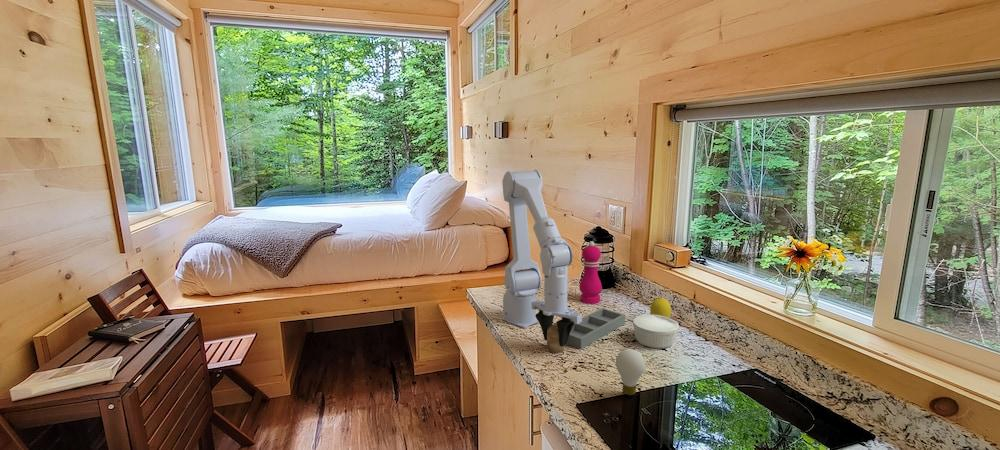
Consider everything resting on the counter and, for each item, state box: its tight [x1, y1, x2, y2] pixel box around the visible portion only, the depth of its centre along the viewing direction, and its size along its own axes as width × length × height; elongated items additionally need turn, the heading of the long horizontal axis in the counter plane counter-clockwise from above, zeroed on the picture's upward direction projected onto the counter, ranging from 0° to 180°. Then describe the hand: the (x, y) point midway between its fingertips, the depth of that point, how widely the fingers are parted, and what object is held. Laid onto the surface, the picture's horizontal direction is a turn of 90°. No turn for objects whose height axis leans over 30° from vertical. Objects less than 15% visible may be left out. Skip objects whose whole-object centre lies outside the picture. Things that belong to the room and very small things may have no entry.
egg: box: [546, 323, 565, 354], centre depth 114 cm, size 4×4×7 cm
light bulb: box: [615, 348, 646, 396], centre depth 94 cm, size 6×6×10 cm
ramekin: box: [632, 314, 680, 349], centre depth 118 cm, size 11×11×5 cm
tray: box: [567, 307, 626, 350], centre depth 124 cm, size 8×21×3 cm, turn 134°
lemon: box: [649, 296, 672, 319], centre depth 128 cm, size 6×6×8 cm
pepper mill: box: [578, 240, 603, 305], centre depth 146 cm, size 7×7×20 cm
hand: (555, 342), depth 115 cm, fingers closed on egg, 4 cm apart
